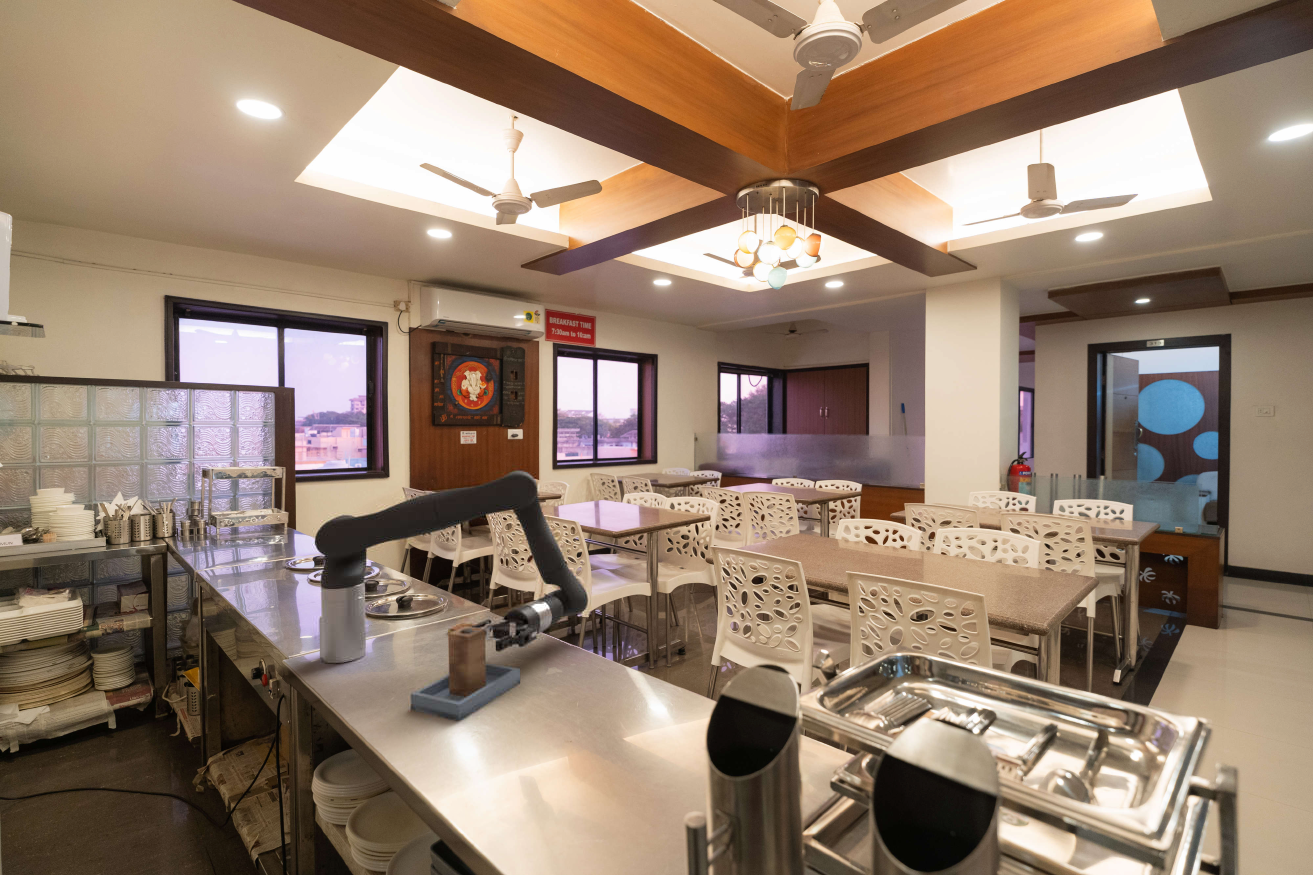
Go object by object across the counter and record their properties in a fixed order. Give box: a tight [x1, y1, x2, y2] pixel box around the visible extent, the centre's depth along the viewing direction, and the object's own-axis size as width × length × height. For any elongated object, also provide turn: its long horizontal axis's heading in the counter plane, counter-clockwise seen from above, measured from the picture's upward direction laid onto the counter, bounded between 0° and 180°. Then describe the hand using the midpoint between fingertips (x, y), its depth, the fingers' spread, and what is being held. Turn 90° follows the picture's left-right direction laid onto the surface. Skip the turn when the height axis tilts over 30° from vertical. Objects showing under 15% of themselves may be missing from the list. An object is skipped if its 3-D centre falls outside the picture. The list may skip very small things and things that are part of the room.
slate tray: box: [410, 662, 521, 722], centre depth 122 cm, size 12×18×3 cm, turn 156°
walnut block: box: [447, 626, 487, 697], centre depth 122 cm, size 5×5×12 cm
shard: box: [447, 622, 476, 634], centre depth 158 cm, size 11×8×2 cm
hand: (480, 643), depth 125 cm, fingers open, 8 cm apart
